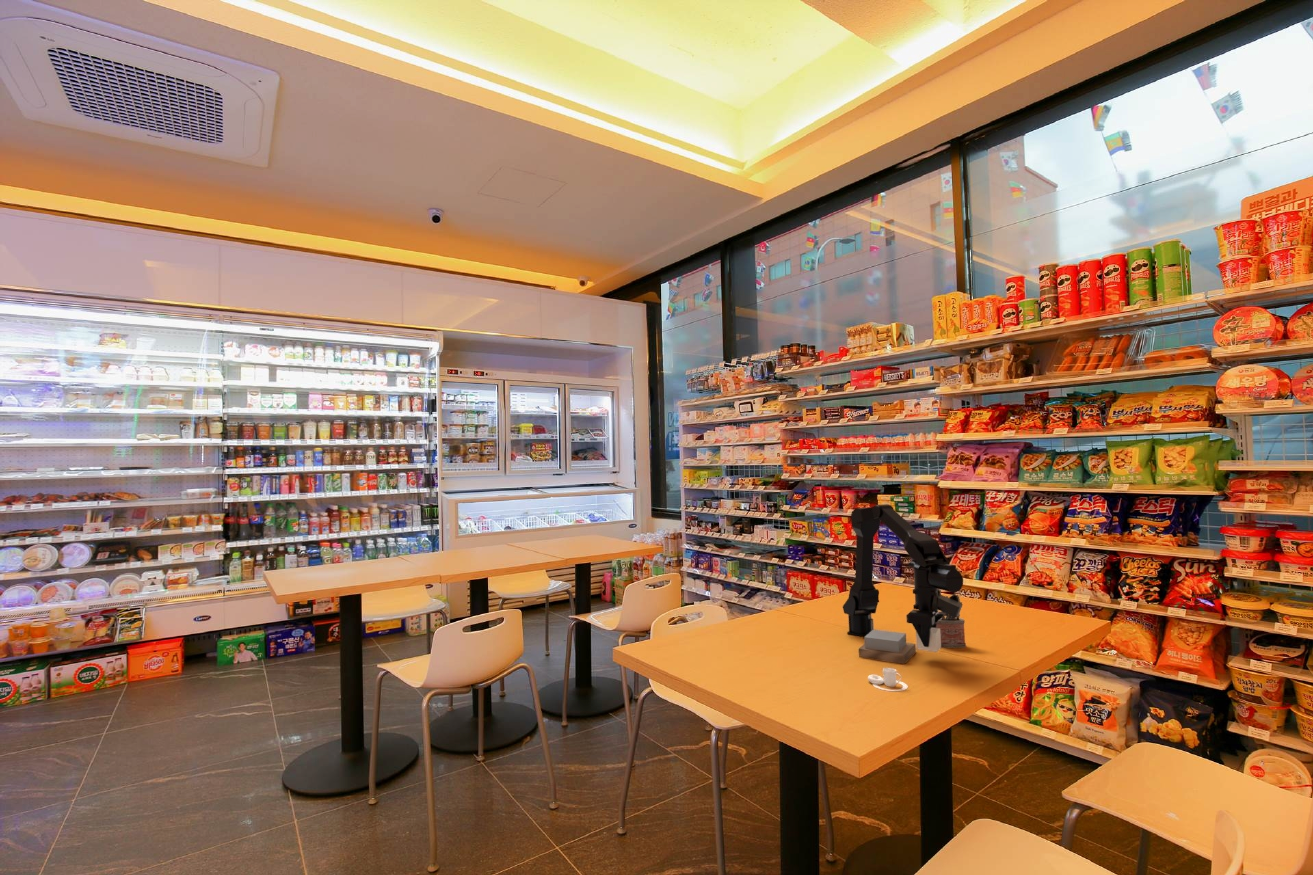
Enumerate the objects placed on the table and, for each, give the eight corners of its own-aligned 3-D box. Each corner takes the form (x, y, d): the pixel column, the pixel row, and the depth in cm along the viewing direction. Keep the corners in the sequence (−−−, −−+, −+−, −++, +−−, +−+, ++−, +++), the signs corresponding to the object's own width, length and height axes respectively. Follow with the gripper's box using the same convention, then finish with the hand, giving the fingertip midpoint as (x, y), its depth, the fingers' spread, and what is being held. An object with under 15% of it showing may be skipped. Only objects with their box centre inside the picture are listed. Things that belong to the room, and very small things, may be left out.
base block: (859, 659, 169) (858, 648, 170) (872, 648, 179) (872, 637, 179) (904, 666, 162) (903, 655, 163) (915, 654, 172) (915, 643, 172)
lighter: (963, 643, 178) (961, 609, 179) (967, 647, 175) (965, 611, 175) (934, 644, 179) (932, 609, 179) (938, 647, 176) (936, 612, 176)
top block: (864, 648, 170) (864, 637, 170) (873, 639, 177) (873, 629, 177) (898, 652, 165) (898, 641, 165) (906, 644, 172) (905, 633, 172)
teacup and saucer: (863, 683, 150) (862, 666, 151) (888, 678, 154) (887, 661, 154) (889, 695, 142) (888, 677, 143) (915, 689, 145) (914, 672, 146)
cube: (916, 649, 164) (915, 630, 164) (921, 644, 168) (920, 625, 168) (936, 652, 161) (935, 632, 161) (941, 647, 165) (940, 628, 165)
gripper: (951, 594, 153) (954, 658, 152) (965, 582, 168) (968, 639, 167) (904, 590, 159) (907, 651, 159) (922, 578, 174) (925, 634, 174)
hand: (928, 644), depth 164 cm, fingers closed on cube, 5 cm apart
